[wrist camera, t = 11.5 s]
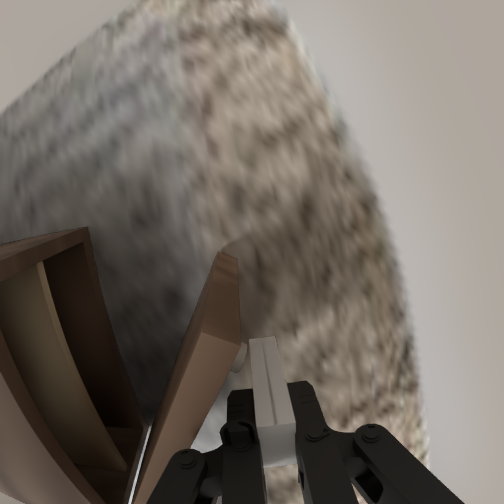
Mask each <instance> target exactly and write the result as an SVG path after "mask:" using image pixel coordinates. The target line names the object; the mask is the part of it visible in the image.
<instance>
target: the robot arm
mask: <svg viewBox="0 0 504 504" xmlns="http://www.w3.org/2000/svg"><path fill="white" fill-rule="evenodd" d="M249 345H250V357H251V370H252V382H253V388H252V389H243V390H232V391H231V393H230V395H229V396H228V398H227V423H225V424H224V425H223V427H222V428H221V430H220V436H221V439H222V443H223V444H222V445H221V446H220V447H219V448H217V449H215V450H212V451H209V452H206V453H201V452H199V451H197V450H194V449H184V450H180V451H178V452H176V453H175V454H174V455H173V456H172V457H171V458H170V460H169V462H168V464H167V466H166V468H165V470H164V471H163V473H162V475H161V477H160V479H159V481H158V482H157V484H156V486H155V488H154V490H153V492H152V493H151V495H150V497H149V499H148V501H147V503H146V504H216V501H217V499H218V496H221V495H222V504H268V502H267V492H266V483H265V475H264V468H269V467H277V466H285V465H291V464H298V483H300V484H301V489H302V494H303V498H304V503H305V504H359V503H358V500H357V497H356V495H355V492H354V489H353V486H352V484H353V485H354V486H355V488H356V489H357V490H358V492H359V493H360V494H361V496H362V497H363V498H364V499H365V501H366V502H367V503H368V504H464V503H463V502H462V501H461V500H460V499H459V498H458V497H457V496H456V495H455V494H454V493H452V492H451V491H450V490H449V489H448V488H447V487H446V486H445V485H444V484H443V483H442V482H441V481H440V480H438V479H437V478H436V477H435V476H434V475H433V474H432V473H431V472H430V471H429V470H428V469H427V468H426V467H425V466H424V465H423V464H422V463H421V462H420V461H419V460H417V459H416V458H415V457H414V456H413V455H412V454H411V453H410V452H409V451H408V450H407V449H406V448H405V447H404V446H403V445H402V444H401V443H400V442H399V441H398V440H397V439H396V438H395V437H394V436H393V435H392V434H391V433H390V432H389V431H388V430H387V429H386V428H384V427H383V426H381V425H378V424H366V425H363V426H361V427H359V428H358V429H357V430H356V432H355V433H344V432H338V431H334V430H333V429H331V428H330V427H328V426H327V424H326V422H325V419H324V417H323V414H322V411H321V408H320V405H319V402H318V400H317V397H316V395H315V391H314V388H313V386H312V385H311V384H310V383H308V382H307V381H299V382H293V383H286V380H285V375H284V371H283V367H282V363H281V359H280V355H279V351H278V346H277V342H276V338H275V336H271V337H263V338H254V339H249Z"/></svg>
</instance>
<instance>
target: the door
mask: <svg viewBox="0 0 504 504" xmlns="http://www.w3.org/2000/svg"><path fill="white" fill-rule="evenodd" d="M246 353H247V344H246V343H243V342H241V328H240V309H239V289H238V267H237V259H236V258H234V257H231V256H229V255H226V254H224V253H221V252H219V251H218V253H217V256H216V258H215V261H214V263H213V265H212V268H211V270H210V273H209V275H208V278H207V280H206V283H205V285H204V288H203V290H202V293H201V296H200V298H199V301H198V303H197V306H196V308H195V311H194V313H193V316H192V319H191V321H190V324H189V326H188V329H187V332H186V334H185V337H184V339H183V342H182V345H181V347H180V350H179V353H178V355H177V358H176V361H175V363H174V366H173V369H172V372H171V374H170V377H169V380H168V382H167V385H166V388H165V391H164V393H163V396H162V399H161V402H160V405H159V407H158V410H157V413H156V416H155V419H154V421H153V424H152V427H151V431H150V434H149V438H148V441H147V445H146V449H145V452H144V456H143V460H142V464H141V467H140V471H139V475H138V479H137V483H136V487H135V491H134V495H133V499H132V503H131V504H146V503H147V501H148V499H149V497H150V495H151V493H152V492H153V490H154V488H155V486H156V484H157V482H158V481H159V479H160V477H161V475H162V473H163V471H164V470H165V468H166V466H167V464H168V462H169V460H170V458H171V457H172V456H173V455H174V454H175V453H176V452H178V451H180V450H184V449H190V447H191V445H192V443H193V441H194V440H195V438H196V436H197V434H198V432H199V430H200V428H201V426H202V424H203V422H204V420H205V418H206V416H207V414H208V412H209V410H210V408H211V407H212V405H213V403H214V401H215V399H216V397H217V395H218V393H219V391H220V389H221V387H222V385H223V383H224V381H225V379H226V377H227V375H228V373H229V371H232V372H235V373H238V372H239V370H240V369H241V367H242V365H243V362H244V360H245V357H246Z"/></svg>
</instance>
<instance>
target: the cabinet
mask: <svg viewBox="0 0 504 504" xmlns="http://www.w3.org/2000/svg"><path fill="white" fill-rule="evenodd" d="M148 429H149V426H148V424H147V422H146V420H145V417H144V415H143V413H142V410H141V408H140V406H139V403H138V401H137V398H136V396H135V393H134V391H133V388H132V386H131V383H130V380H129V378H128V375H127V372H126V370H125V367H124V364H123V361H122V358H121V355H120V352H119V349H118V346H117V343H116V340H115V337H114V334H113V331H112V327H111V324H110V321H109V317H108V314H107V310H106V306H105V303H104V299H103V295H102V291H101V287H100V283H99V279H98V275H97V270H96V266H95V261H94V257H93V252H92V247H91V241H90V236H89V231H88V227H82V228H77V229H72V230H66V231H61V232H56V233H51V234H46V235H42V236H37V237H32V238H27V239H23V240H18V241H14V242H9V243H5V244H1V245H0V492H2V493H4V494H6V495H8V496H10V497H12V498H14V499H16V500H19V501H21V502H23V503H25V504H128V502H129V498H130V494H131V490H132V486H133V483H134V479H135V475H136V471H137V468H138V464H139V460H140V457H141V453H142V450H143V446H144V443H145V439H146V436H147V432H148Z"/></svg>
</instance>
